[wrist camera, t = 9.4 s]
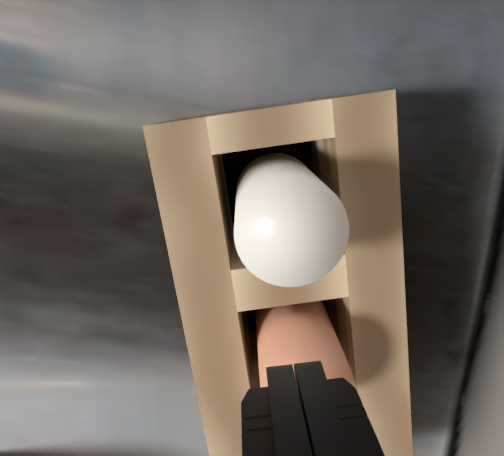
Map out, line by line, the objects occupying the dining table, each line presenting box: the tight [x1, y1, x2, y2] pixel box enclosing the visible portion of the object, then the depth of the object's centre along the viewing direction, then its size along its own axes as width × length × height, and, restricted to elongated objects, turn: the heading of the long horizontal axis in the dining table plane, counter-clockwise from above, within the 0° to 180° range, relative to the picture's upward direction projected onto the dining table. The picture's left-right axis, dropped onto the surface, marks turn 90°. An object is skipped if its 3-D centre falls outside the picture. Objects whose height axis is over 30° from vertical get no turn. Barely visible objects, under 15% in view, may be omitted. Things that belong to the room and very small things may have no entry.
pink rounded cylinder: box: [255, 300, 353, 388], centre depth 21 cm, size 4×4×7 cm
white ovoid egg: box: [234, 153, 349, 287], centre depth 18 cm, size 4×4×7 cm
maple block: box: [143, 89, 413, 456], centre depth 23 cm, size 10×22×7 cm, turn 8°
